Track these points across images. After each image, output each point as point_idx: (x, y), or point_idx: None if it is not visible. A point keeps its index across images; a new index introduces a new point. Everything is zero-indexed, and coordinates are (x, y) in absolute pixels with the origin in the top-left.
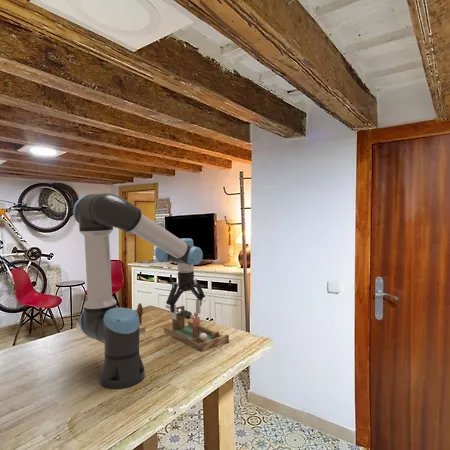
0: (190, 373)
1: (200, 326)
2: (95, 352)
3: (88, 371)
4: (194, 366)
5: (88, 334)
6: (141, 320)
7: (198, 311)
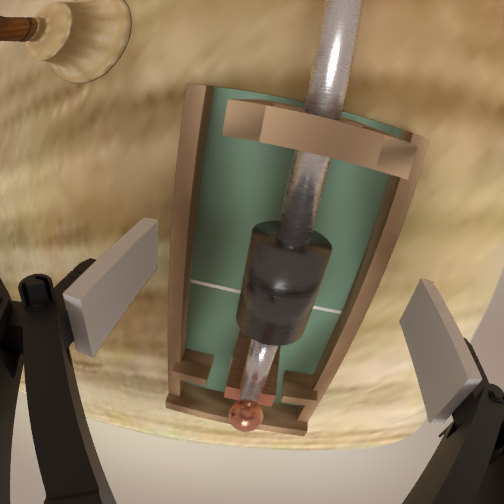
0: (98, 395)
1: (376, 272)
2: None
3: None
4: (121, 390)
5: None
6: (21, 37)
7: (407, 322)
